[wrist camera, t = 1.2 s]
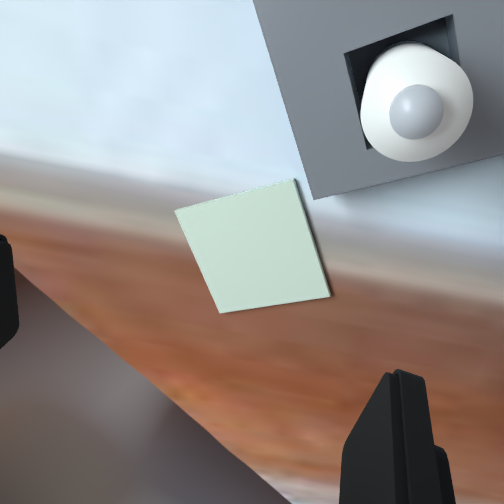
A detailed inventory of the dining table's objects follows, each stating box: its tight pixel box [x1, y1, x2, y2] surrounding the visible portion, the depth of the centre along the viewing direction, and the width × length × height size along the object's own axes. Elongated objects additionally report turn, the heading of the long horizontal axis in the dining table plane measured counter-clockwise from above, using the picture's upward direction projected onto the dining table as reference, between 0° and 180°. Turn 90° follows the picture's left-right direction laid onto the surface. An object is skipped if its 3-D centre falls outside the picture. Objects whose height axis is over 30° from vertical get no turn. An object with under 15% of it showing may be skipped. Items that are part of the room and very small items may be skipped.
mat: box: [175, 178, 331, 313], centre depth 41 cm, size 12×12×1 cm
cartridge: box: [361, 41, 473, 162], centre depth 26 cm, size 5×5×13 cm
